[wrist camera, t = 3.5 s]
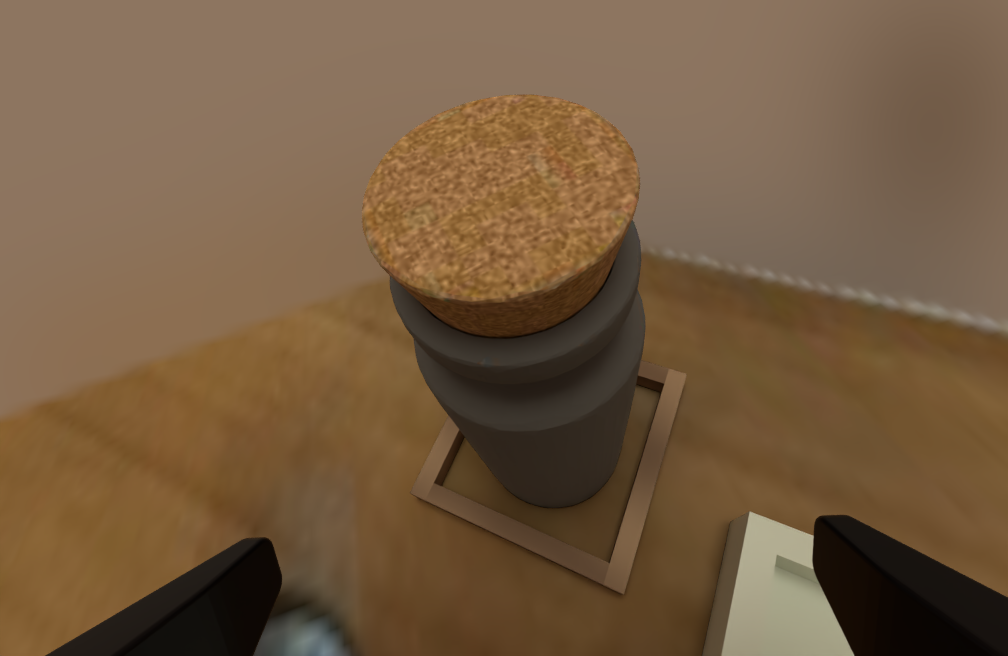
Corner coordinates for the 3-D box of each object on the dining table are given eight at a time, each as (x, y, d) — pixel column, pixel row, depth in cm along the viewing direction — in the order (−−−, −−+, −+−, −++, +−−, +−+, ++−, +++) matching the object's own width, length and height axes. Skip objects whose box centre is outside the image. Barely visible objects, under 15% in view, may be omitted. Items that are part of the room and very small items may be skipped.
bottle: (481, 389, 22) (337, 109, 10) (603, 368, 22) (627, 45, 9) (494, 519, 19) (310, 368, 7) (635, 498, 19) (738, 291, 6)
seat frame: (622, 594, 17) (624, 594, 17) (417, 497, 20) (409, 493, 19) (682, 383, 21) (686, 373, 20) (501, 326, 24) (498, 316, 23)
